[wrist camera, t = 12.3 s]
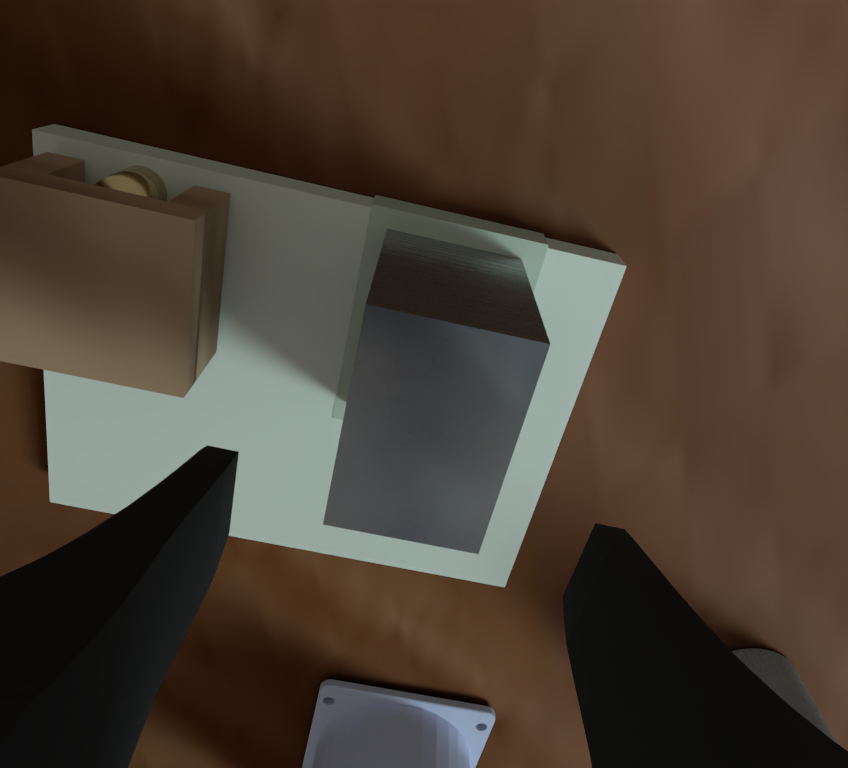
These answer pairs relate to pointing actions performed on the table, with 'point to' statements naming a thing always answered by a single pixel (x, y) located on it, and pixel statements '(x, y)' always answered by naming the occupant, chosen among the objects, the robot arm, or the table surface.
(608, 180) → the table surface
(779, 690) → the grey cylinder
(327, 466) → the base
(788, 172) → the table surface
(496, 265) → the grey block
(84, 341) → the cover
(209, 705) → the table surface
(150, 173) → the stubs
